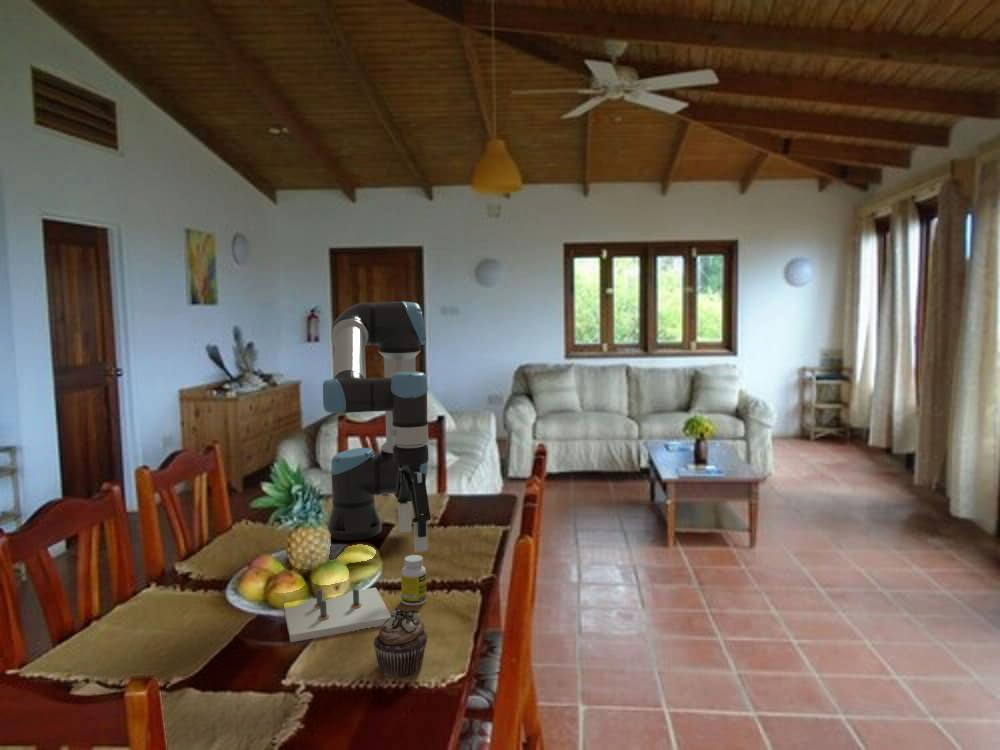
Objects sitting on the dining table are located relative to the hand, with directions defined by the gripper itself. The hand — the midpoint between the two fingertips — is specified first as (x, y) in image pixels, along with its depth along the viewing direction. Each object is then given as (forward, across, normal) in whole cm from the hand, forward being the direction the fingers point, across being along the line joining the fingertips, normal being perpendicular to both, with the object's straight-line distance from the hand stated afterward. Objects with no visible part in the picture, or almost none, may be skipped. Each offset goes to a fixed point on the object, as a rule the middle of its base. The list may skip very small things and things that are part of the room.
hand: (412, 541), depth 155 cm
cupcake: (+14, +25, -9) cm, 30 cm away
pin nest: (+14, 0, -17) cm, 22 cm away
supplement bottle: (+14, 0, 0) cm, 14 cm away
